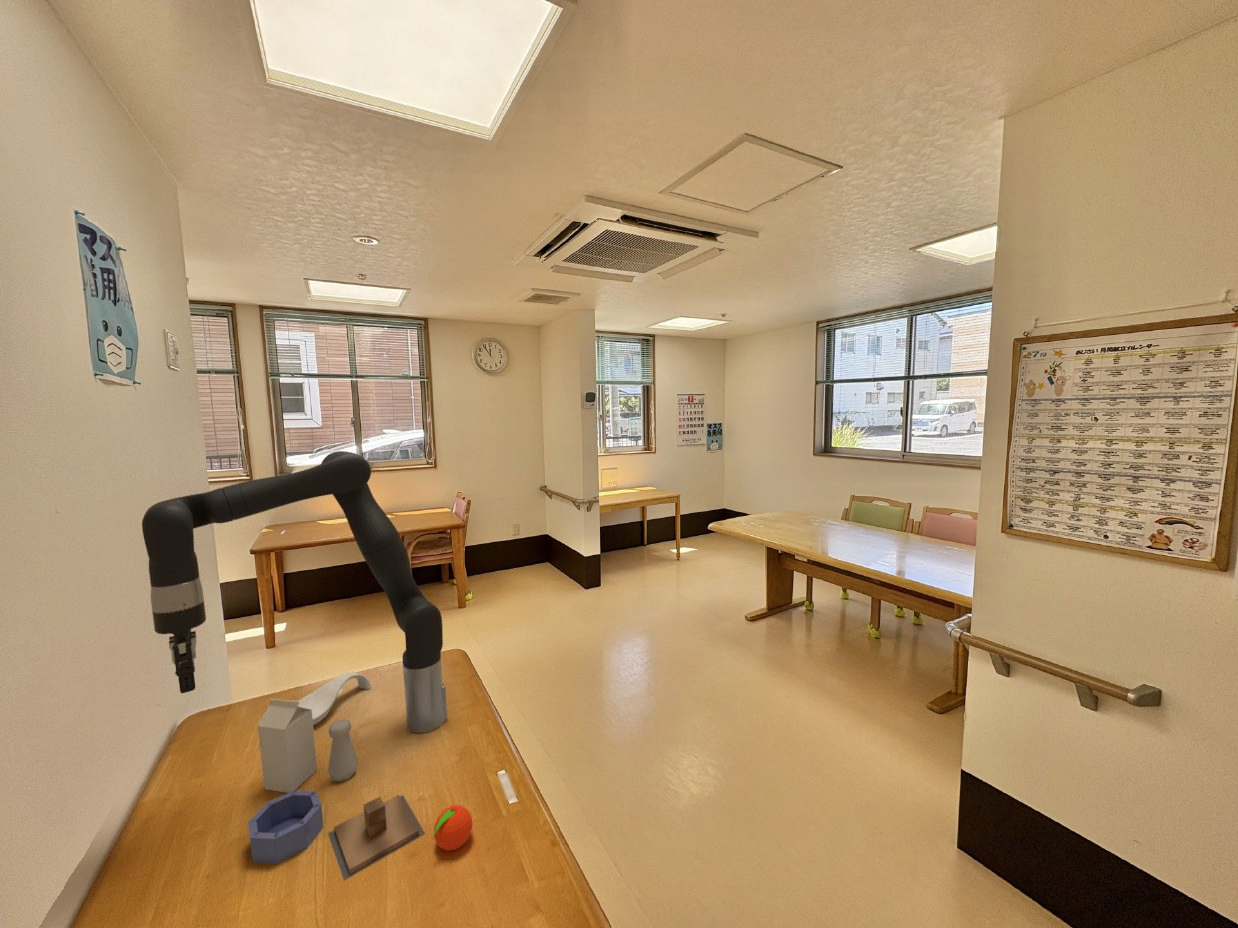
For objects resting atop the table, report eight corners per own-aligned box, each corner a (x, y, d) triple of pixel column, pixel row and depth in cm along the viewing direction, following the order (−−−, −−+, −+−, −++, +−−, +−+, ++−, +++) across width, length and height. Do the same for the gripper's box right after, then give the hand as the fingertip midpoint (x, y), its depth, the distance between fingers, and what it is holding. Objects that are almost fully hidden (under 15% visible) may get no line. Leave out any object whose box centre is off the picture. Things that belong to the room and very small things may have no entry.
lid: (398, 798, 103) (396, 772, 103) (419, 834, 94) (417, 806, 94) (334, 831, 96) (331, 803, 95) (349, 874, 87) (347, 843, 86)
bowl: (315, 806, 103) (313, 781, 102) (327, 840, 94) (324, 814, 94) (249, 837, 95) (246, 811, 95) (255, 877, 87) (252, 849, 86)
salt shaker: (328, 790, 107) (323, 734, 106) (329, 773, 112) (324, 719, 111) (358, 780, 110) (353, 726, 108) (358, 764, 115) (354, 712, 113)
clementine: (446, 871, 87) (444, 835, 87) (422, 853, 91) (419, 818, 90) (481, 838, 94) (479, 804, 93) (456, 822, 98) (454, 789, 97)
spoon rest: (301, 741, 124) (298, 714, 123) (271, 730, 128) (268, 704, 128) (379, 691, 146) (377, 668, 145) (351, 683, 150) (349, 661, 149)
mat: (403, 797, 105) (403, 794, 104) (425, 836, 95) (425, 833, 95) (328, 835, 95) (328, 832, 95) (344, 883, 86) (344, 879, 86)
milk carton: (291, 794, 106) (283, 711, 104) (264, 789, 108) (255, 708, 105) (317, 770, 113) (310, 692, 111) (291, 766, 114) (284, 689, 112)
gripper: (204, 608, 93) (214, 689, 94) (202, 589, 103) (211, 662, 105) (149, 620, 88) (160, 705, 89) (153, 598, 98) (163, 675, 100)
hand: (188, 682), depth 97 cm, fingers open, 8 cm apart
